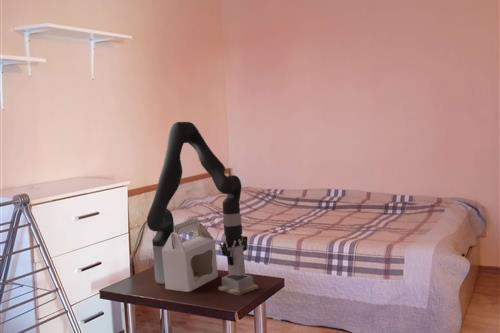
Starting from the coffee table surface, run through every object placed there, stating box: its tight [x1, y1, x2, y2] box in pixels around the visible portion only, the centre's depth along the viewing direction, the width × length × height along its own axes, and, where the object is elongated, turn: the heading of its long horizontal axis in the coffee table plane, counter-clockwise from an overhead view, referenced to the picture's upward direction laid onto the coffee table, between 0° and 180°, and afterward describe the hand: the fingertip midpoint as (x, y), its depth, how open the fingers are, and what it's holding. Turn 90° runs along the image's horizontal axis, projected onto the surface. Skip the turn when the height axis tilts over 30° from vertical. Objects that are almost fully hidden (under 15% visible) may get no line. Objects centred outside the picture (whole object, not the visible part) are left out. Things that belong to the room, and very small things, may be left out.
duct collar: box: [221, 273, 255, 291], centre depth 217 cm, size 10×8×4 cm
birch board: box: [217, 283, 259, 296], centre depth 217 cm, size 13×11×1 cm
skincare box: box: [226, 245, 246, 276], centre depth 216 cm, size 6×4×12 cm
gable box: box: [162, 217, 219, 293], centre depth 229 cm, size 22×13×28 cm, turn 149°
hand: (235, 263), depth 216 cm, fingers closed on skincare box, 5 cm apart
